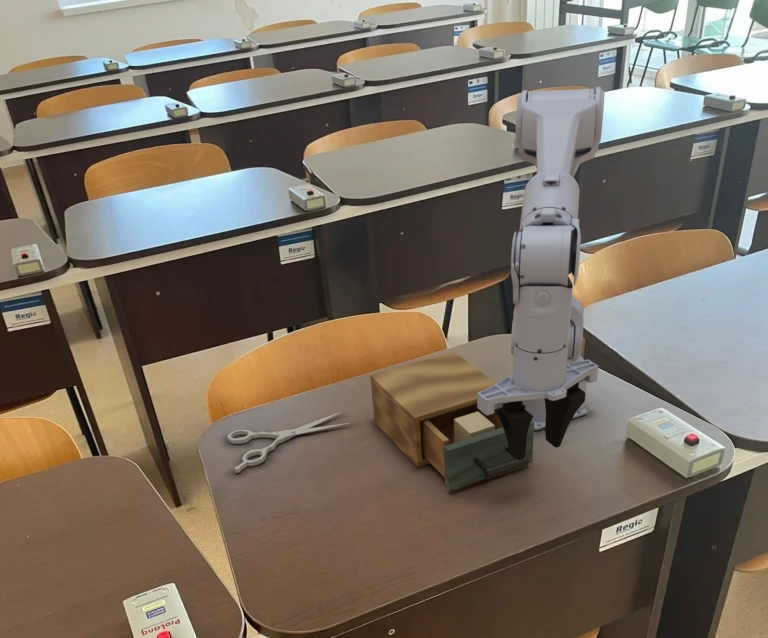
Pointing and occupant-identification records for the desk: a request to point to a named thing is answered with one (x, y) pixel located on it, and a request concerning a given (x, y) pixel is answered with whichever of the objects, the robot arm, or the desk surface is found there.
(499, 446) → the drawer
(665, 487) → the desk surface
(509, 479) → the desk surface
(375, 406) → the cabinet
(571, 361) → the robot arm
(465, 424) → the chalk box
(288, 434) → the scissors
